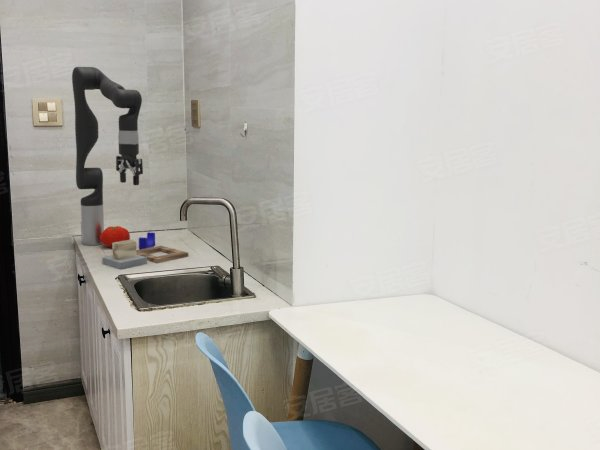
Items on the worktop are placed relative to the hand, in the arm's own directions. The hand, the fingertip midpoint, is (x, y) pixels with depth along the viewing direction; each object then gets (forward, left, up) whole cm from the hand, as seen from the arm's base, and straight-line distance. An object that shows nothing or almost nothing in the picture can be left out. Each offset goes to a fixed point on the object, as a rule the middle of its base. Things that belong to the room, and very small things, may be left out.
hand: (129, 183), depth 244 cm
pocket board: (+5, +10, -30) cm, 32 cm away
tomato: (-21, +7, -30) cm, 38 cm away
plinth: (+6, -7, -30) cm, 31 cm away
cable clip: (-10, +14, -30) cm, 35 cm away
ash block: (+6, -7, -28) cm, 29 cm away
